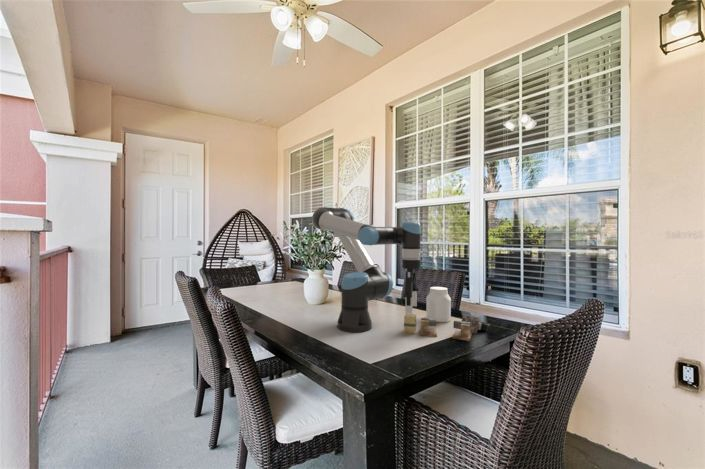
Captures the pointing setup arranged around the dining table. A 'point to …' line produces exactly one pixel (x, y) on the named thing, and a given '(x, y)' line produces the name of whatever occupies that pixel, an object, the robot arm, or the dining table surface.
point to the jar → (438, 304)
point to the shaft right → (462, 330)
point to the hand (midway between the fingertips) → (411, 309)
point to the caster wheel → (474, 323)
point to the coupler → (410, 323)
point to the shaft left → (425, 327)
